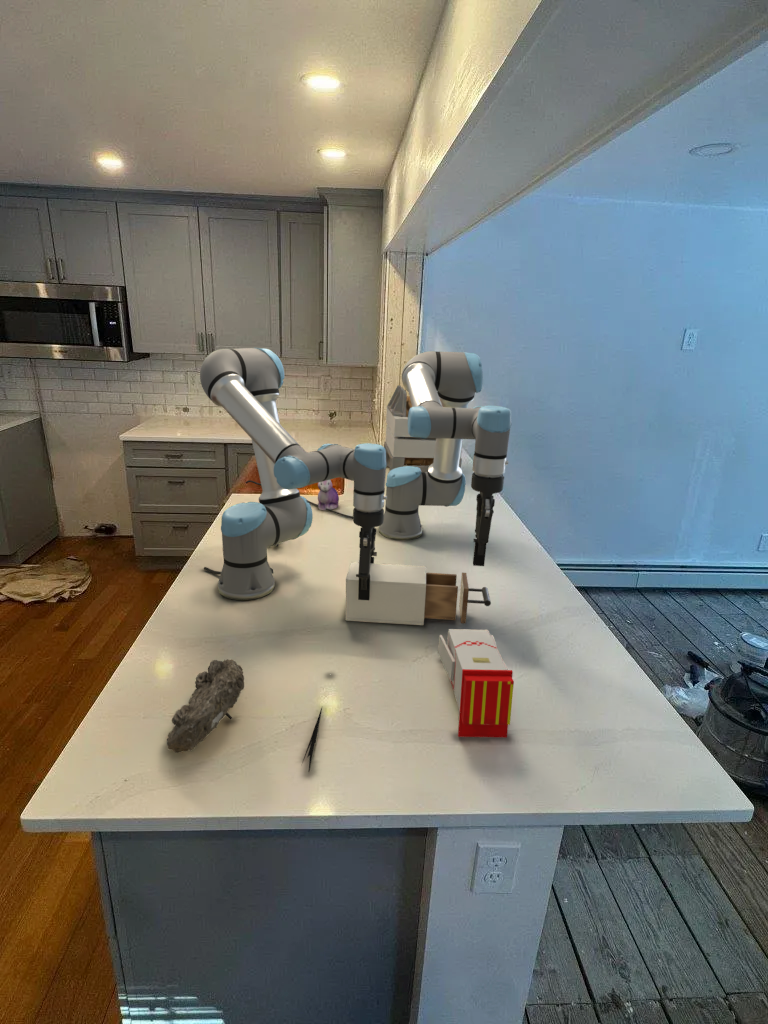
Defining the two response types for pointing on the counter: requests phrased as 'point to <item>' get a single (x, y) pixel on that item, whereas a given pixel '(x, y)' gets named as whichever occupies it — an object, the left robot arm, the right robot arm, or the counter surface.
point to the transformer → (405, 436)
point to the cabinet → (388, 594)
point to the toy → (478, 682)
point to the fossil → (206, 705)
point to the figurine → (327, 496)
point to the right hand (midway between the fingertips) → (478, 564)
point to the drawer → (449, 596)
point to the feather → (313, 740)
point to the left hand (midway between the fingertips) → (366, 589)
